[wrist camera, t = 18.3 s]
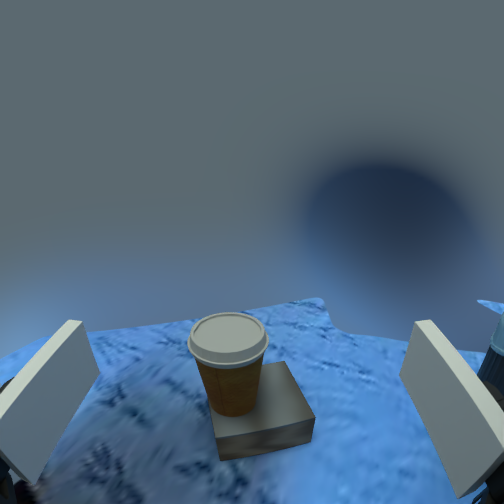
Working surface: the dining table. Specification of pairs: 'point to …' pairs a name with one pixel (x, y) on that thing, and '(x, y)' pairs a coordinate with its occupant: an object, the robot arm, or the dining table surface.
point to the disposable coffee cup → (229, 360)
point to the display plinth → (266, 418)
